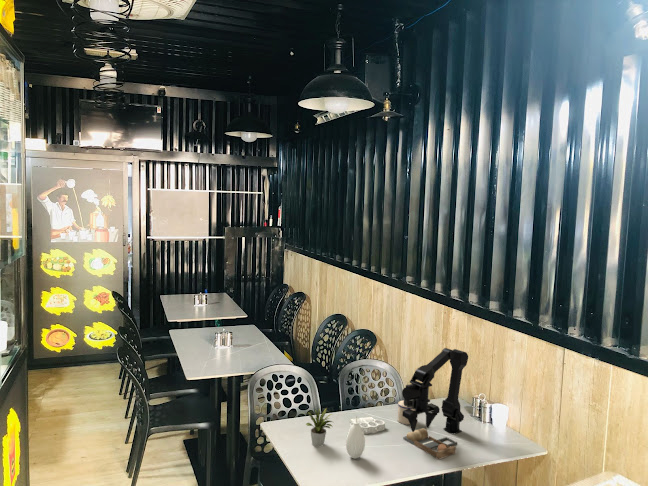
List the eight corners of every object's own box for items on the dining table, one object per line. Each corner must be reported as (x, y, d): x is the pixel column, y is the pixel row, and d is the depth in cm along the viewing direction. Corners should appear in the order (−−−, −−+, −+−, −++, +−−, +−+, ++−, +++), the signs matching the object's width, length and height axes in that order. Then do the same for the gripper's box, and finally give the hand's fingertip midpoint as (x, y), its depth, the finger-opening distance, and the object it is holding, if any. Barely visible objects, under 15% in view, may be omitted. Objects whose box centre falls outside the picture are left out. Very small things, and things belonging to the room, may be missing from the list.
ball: (442, 451, 228) (449, 453, 225) (436, 453, 226) (443, 455, 223) (441, 442, 229) (448, 443, 226) (435, 444, 226) (442, 445, 223)
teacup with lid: (418, 423, 257) (420, 400, 256) (403, 426, 253) (404, 402, 253) (405, 414, 268) (406, 392, 267) (390, 416, 264) (391, 394, 264)
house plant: (305, 454, 219) (307, 416, 218) (295, 440, 232) (297, 405, 231) (336, 449, 225) (338, 413, 224) (324, 436, 238) (326, 402, 237)
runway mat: (418, 434, 244) (418, 432, 244) (440, 446, 233) (441, 443, 232) (403, 439, 238) (403, 436, 238) (425, 451, 227) (425, 448, 227)
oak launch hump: (420, 437, 243) (420, 426, 242) (427, 441, 238) (428, 430, 238) (406, 441, 237) (406, 430, 237) (413, 445, 233) (414, 434, 233)
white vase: (352, 451, 224) (354, 411, 223) (367, 457, 219) (369, 416, 218) (341, 457, 218) (343, 416, 217) (356, 464, 213) (358, 421, 212)
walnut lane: (430, 440, 239) (430, 433, 238) (455, 453, 226) (455, 446, 226) (413, 445, 232) (413, 438, 232) (438, 459, 220) (438, 452, 220)
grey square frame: (446, 438, 241) (446, 437, 241) (457, 444, 235) (457, 442, 235) (436, 441, 237) (436, 440, 237) (447, 447, 232) (447, 445, 232)
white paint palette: (376, 421, 259) (389, 433, 245) (343, 424, 253) (354, 437, 239) (376, 414, 259) (389, 426, 245) (343, 417, 253) (355, 430, 239)
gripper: (423, 387, 247) (421, 419, 248) (395, 394, 237) (393, 427, 238) (441, 395, 238) (439, 427, 239) (412, 402, 228) (410, 436, 229)
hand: (420, 429), depth 236 cm, fingers open, 9 cm apart
